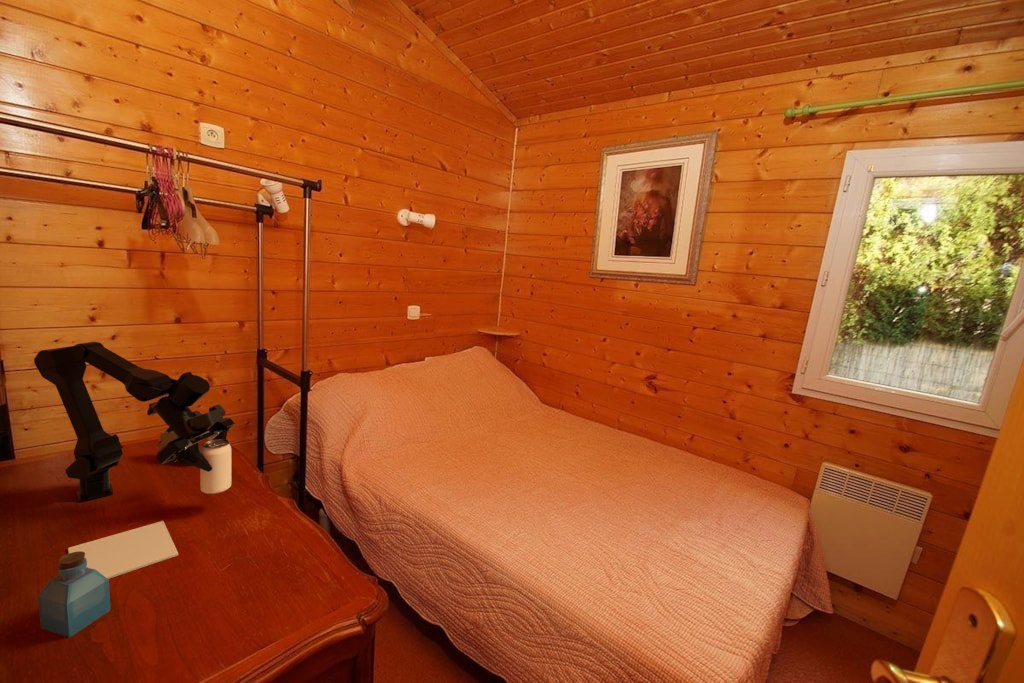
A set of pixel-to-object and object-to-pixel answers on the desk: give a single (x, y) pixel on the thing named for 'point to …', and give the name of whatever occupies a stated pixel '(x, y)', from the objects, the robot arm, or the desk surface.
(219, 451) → the can
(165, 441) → the wooden carving
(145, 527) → the beige mat
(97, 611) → the perfume bottle
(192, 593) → the desk surface
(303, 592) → the desk surface
